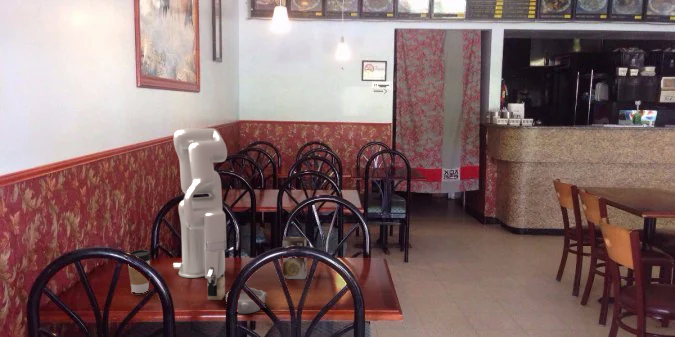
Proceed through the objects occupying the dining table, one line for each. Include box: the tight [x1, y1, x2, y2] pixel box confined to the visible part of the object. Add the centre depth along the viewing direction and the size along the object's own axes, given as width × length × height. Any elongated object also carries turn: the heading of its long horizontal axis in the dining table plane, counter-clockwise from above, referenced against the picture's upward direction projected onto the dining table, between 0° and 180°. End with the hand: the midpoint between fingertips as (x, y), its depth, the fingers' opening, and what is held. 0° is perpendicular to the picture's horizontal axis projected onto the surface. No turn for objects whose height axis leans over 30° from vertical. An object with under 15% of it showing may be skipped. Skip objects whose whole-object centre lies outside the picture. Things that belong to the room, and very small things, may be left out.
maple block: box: [206, 276, 226, 301], centre depth 199 cm, size 5×5×7 cm
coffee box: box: [282, 236, 308, 280], centre depth 223 cm, size 9×6×16 cm
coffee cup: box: [128, 249, 152, 294], centre depth 204 cm, size 8×8×15 cm
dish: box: [225, 287, 267, 314], centre depth 191 cm, size 14×14×5 cm
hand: (216, 291), depth 199 cm, fingers open, 9 cm apart
